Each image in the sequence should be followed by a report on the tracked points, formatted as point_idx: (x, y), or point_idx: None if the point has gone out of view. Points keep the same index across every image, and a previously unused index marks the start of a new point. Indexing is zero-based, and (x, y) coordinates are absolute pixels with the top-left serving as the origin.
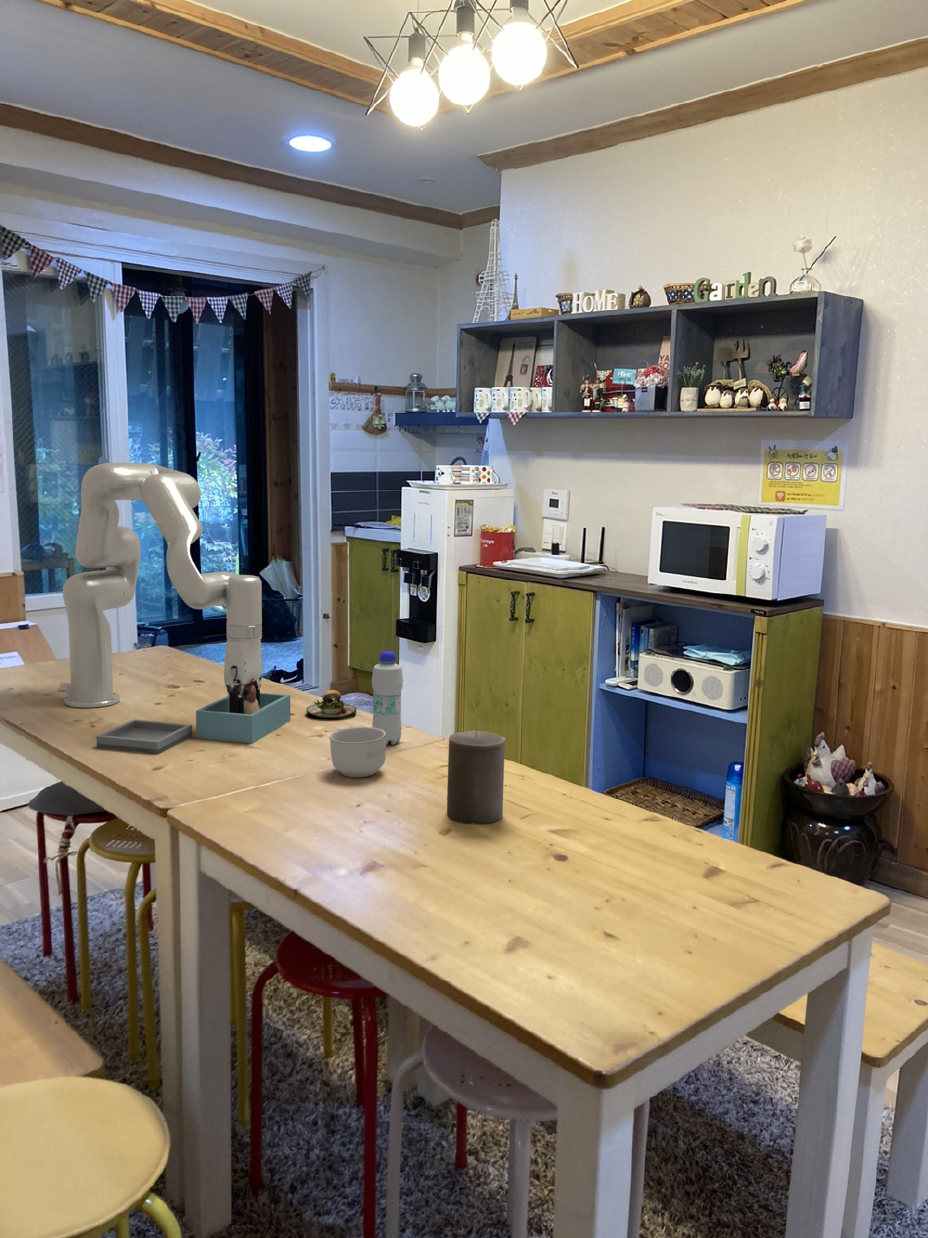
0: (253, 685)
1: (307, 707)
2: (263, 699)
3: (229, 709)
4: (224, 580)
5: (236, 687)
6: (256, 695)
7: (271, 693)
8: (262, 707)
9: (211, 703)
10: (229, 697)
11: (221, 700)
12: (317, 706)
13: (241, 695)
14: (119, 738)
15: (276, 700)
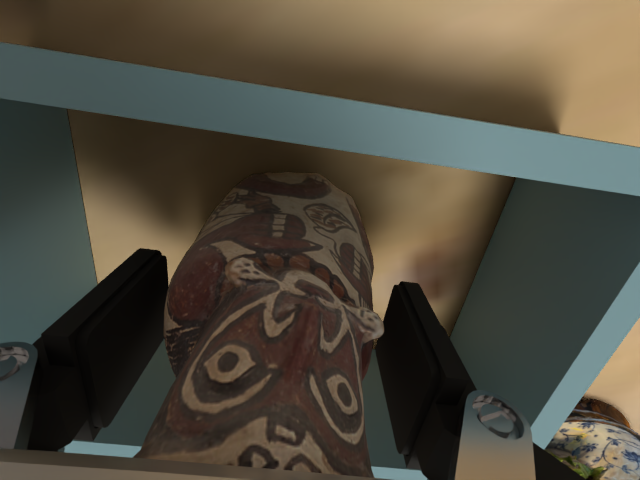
0: (447, 468)
1: (585, 420)
2: (536, 347)
3: (124, 262)
4: None
5: (147, 436)
6: (394, 405)
7: (566, 415)
8: (507, 307)
9: (142, 66)
10: (50, 329)
11: (301, 132)
12: (620, 432)
13: (56, 451)
14: None
15: (372, 469)
